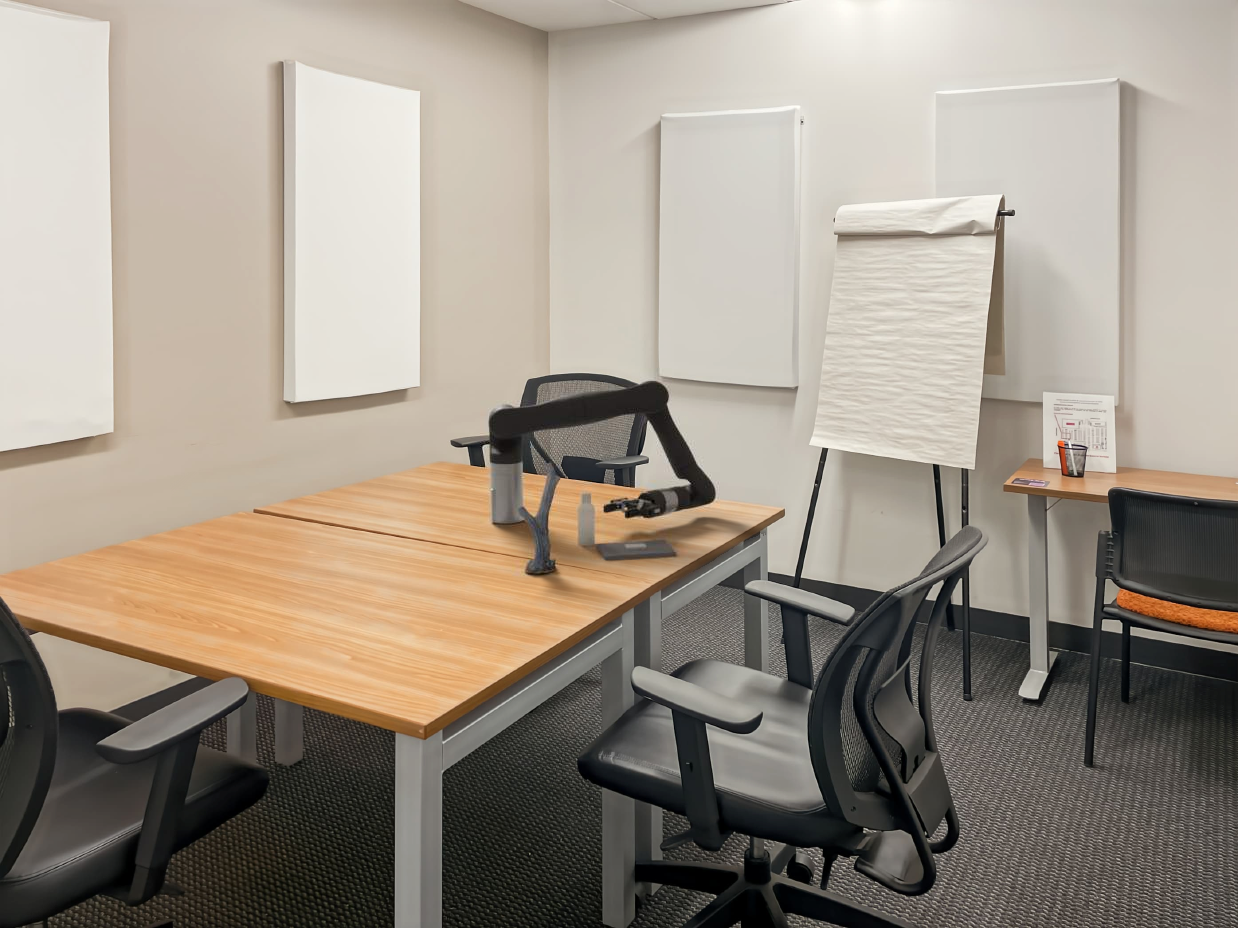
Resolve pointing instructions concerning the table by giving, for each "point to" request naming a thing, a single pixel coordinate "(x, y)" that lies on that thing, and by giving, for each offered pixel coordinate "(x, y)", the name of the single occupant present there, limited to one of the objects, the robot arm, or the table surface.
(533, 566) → the bare tree trunk
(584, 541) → the white tabbed cylinder
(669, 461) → the robot arm
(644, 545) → the dock mat
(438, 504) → the table surface
